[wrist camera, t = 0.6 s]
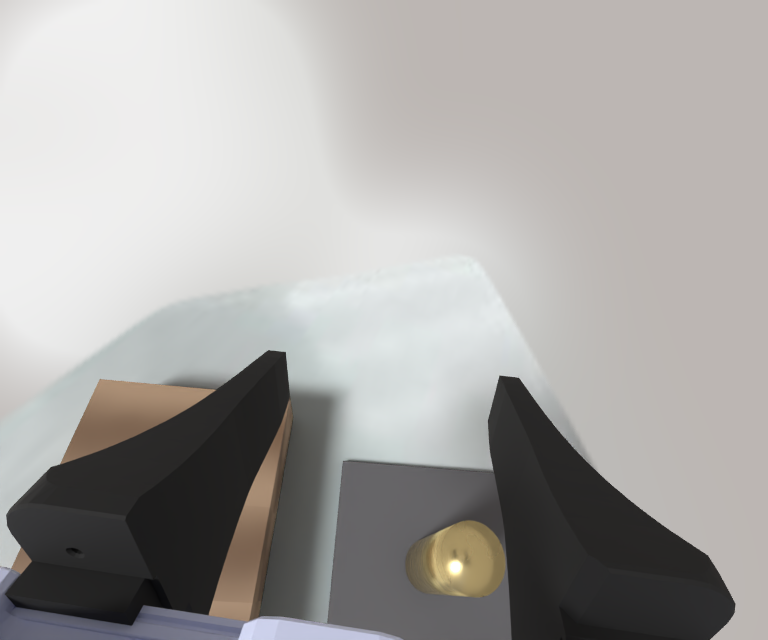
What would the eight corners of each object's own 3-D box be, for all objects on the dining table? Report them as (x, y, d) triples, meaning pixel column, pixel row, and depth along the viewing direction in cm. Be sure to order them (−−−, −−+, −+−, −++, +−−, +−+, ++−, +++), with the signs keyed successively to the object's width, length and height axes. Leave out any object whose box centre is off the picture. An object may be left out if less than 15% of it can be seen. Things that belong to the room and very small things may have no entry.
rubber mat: (530, 693, 23) (534, 694, 23) (321, 686, 22) (321, 688, 22) (505, 475, 30) (507, 473, 30) (342, 462, 29) (343, 460, 29)
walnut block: (233, 764, 20) (216, 798, 17) (-24, 760, 19) (-96, 796, 16) (293, 417, 30) (289, 396, 27) (124, 402, 29) (99, 379, 26)
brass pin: (452, 595, 25) (509, 599, 18) (404, 592, 25) (441, 595, 17) (450, 540, 27) (501, 522, 19) (405, 537, 26) (439, 518, 19)
